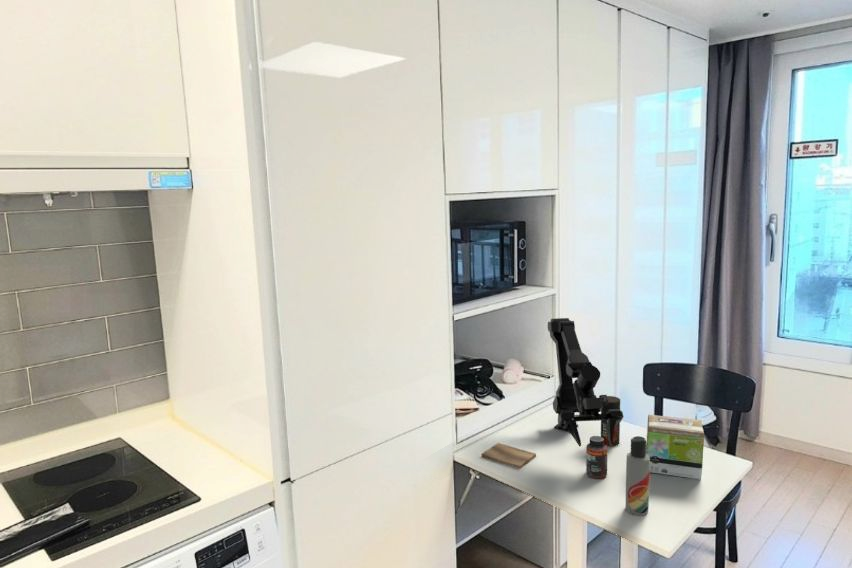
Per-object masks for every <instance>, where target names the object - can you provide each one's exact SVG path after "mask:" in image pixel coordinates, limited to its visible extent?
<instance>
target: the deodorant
mask: <svg viewBox="0 0 852 568" xmlns="http://www.w3.org/2000/svg"><path fill="white" fill-rule="evenodd" d="M607 398H608V405H607V406H603V409H602V408H601V411H600V414H606V413H607V411H608V410H610V409H620V410H621V398H619V397H617V396H612V395H607ZM606 425H607V423H606V422H605V420H600V437H602V438H603V439H604V444H605V445H607V446H606V447H617V446H619V445H620V438H621V437H620V434H621V431H620V429H621V422H620V423H619V424H617V425H616V427H615V428H614V434H613V443H612V445H610V443H609V440H608V435H607V430H606ZM618 444H619V445H618ZM616 445H617V446H616Z"/></svg>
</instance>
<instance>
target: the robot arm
mask: <svg viewBox="0 0 852 568" xmlns="http://www.w3.org/2000/svg"><path fill="white" fill-rule="evenodd" d="M547 331H548V333H549V336H550V338H551V340H552V341H553V342H554V344H555V349H556V360H557V371H558V380H559V381H558V383H559V385H558V388H557V389H556V391H555V397H554V398H553V402H552V410H553V412H555V414H557V424H555V426H553V428H554V429H557V430H561V431H565V432H568V433H569V434H570V435H571V437H572V438H573V439H574V441H575V442H576V443H577V445H578V446H579V447H581V446H582V441H581V436H580V434H579V431H578V428H579V424H577V422H595V421H596V422H597V421H600V422H601V420H605V422H606V423H607V425H606V430H607V435H608V440H609V443H610V445H612V443H613V434H614V428H615V427H616V425H617V424H619V423H620V424H621V422H622V420H623V419H624V413H623V411H622V410H621V408H620V409H610V410H608V411H607V413H606V414H601V408H602V409H603V406H607V405H608V398H607V396H608V395H607V394H600V395H599V397H597V395H596V394H595V391H594V388H595V387H596V385H597V383H598V382H599V380H600V378H601V371H600V369H599V368H598V367H596V366H595V365H593V364H592V362H591V361H590V359H589V357H588V355H587V354H585V353H584V352H583V351H582V349H581V345H580V343H579V339H578V336H577V333H576V326H575V320H570V318H569V317H564V318H563V317H559V318H550V321H548V322H547ZM573 379H575V380H574V382H573ZM575 413H578V414H575Z"/></svg>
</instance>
